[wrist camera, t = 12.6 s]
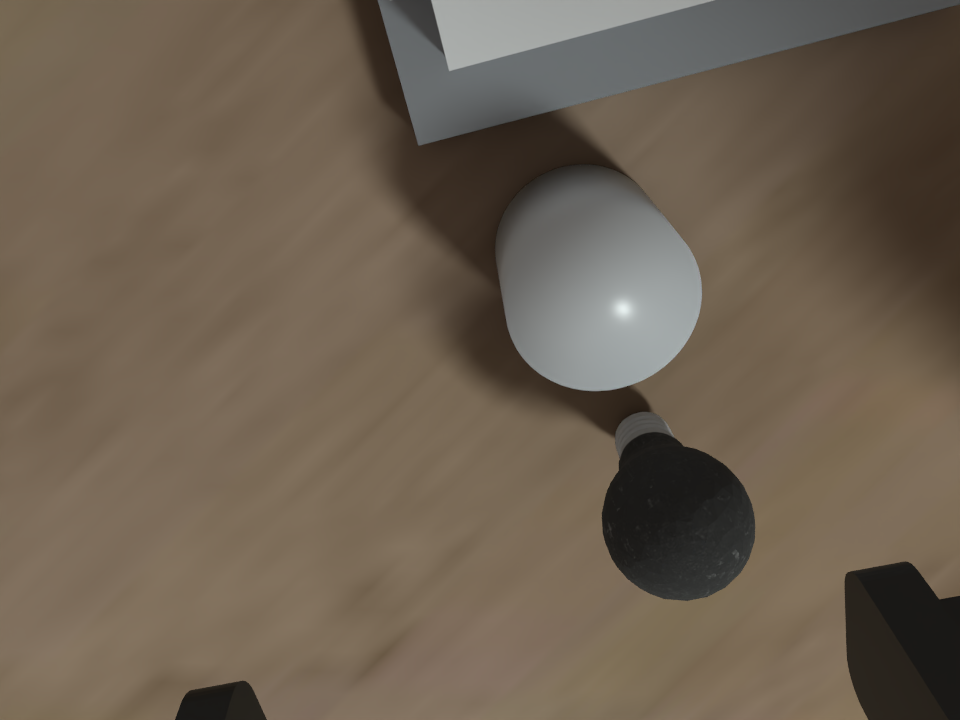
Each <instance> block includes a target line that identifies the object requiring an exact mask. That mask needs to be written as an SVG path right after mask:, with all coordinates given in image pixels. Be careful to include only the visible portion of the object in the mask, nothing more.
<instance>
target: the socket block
mask: <svg viewBox="0 0 960 720" xmlns="http://www.w3.org/2000/svg"><path fill="white" fill-rule="evenodd" d="M378 3H379V7H380V10H381V14H382V17H383V21H384V25H385V28H386V32H387V35H388V39H389V42H390V46H391V50H392V53H393V57H394V60H395V64H396V67H397V71H398V75H399V78H400V82H401V85H402V89H403V92H404V96H405V100H406V103H407V107H408V110H409V114H410V117H411V121H412V125H413V128H414V132H415V135H416V139H417V143H418V146H419V145H423V144H427V143H431V142H435V141H438V140H442V139H446V138H450V137H454V136H458V135H461V134H465V133H469V132H473V131H477V130H481V129H484V128H488V127H492V126H496V125H500V124H504V123H507V122H511V121H515V120H519V119H523V118H527V117H530V116H534V115H538V114H542V113H546V112H550V111H553V110H557V109H561V108H565V107H569V106H573V105H576V104H580V103H584V102H588V101H592V100H596V99H599V98H603V97H607V96H611V95H615V94H618V93H622V92H626V91H630V90H634V89H638V88H641V87H645V86H649V85H653V84H657V83H661V82H664V81H668V80H672V79H676V78H680V77H684V76H687V75H691V74H695V73H699V72H703V71H707V70H710V69H714V68H718V67H722V66H726V65H730V64H733V63H737V62H741V61H745V60H749V59H753V58H756V57H760V56H764V55H768V54H772V53H776V52H779V51H783V50H787V49H791V48H795V47H799V46H802V45H806V44H810V43H814V42H818V41H821V40H825V39H829V38H833V37H837V36H841V35H844V34H848V33H852V32H856V31H860V30H864V29H867V28H871V27H875V26H879V25H883V24H887V23H890V22H894V21H898V20H902V19H906V18H910V17H913V16H917V15H921V14H925V13H929V12H933V11H936V10H940V9H944V8H948V7H952V6H956V5H959V4H960V0H378Z"/></svg>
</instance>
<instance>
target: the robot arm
mask: <svg viewBox="0 0 960 720" xmlns="http://www.w3.org/2000/svg"><path fill="white" fill-rule="evenodd" d="M845 613H846V645H847V661H848V667H849V672H850V676H851V680H852V683H853V686H854V689H855V692H856V695H857V697H858V700H859V702H860V704H861V706H862V708H863V710H864V712H865V714H866V716H867V718H868V720H960V596H956V597H951V598H945V599H938V597H937V596H936V595H935V593H934V592H933V591H932V589H931V588H930V586H929V585H928V584H927V582H926V581H925V580H924V578H923V577H922V576H921V574H920V573H919V572H918V570H917V569H916V568H915V567H914V566H913V565H912V564H911V563H909V562H900V563H895V564H889V565H884V566H878V567H873V568H867V569H862V570H856V571H851V572H848V573H847V574H846V576H845ZM175 720H267V719H266V717H265V715H264V713H263V710H262V708H261V706H260V704H259V702H258V700H257V697H256V695H255V693H254V691H253V689H252V687H251V686H250V685H249V683H247V682H246V681H239V682H234V683H228V684H223V685H217V686H212V687H206V688H201V689H195V690H191V691H189V692H188V693H187V694H186V695H185V696H184V698H183V700H182V702H181V705H180V708H179V710H178V713H177V716H176V719H175Z"/></svg>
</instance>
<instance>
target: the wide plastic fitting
mask: <svg viewBox="0 0 960 720" xmlns="http://www.w3.org/2000/svg"><path fill="white" fill-rule="evenodd" d="M495 259H496V264H497V270H498V276H499V282H500V287H501V293H502V299H503V305H504V310H505V316H506V322H507V327H508V330H509V333H510V336H511V339H512V341H513V343H514V345H515V347H516V349H517V350H518V352H519V353H520V355H521V356H522V358H523V359H524V360H525V361H526V362H527V363H528V364H529V365H530V366H531V367H532V368H533V369H534V370H536V371H537V372H538V373H539V374H541V375H542V376H544V377H546V378H547V379H549V380H551V381H553V382H555V383H557V384H560V385H562V386H566V387H569V388H573V389H578V390H585V391H605V390H613V389H618V388H623V387H626V386H629V385H632V384H635V383H637V382H640V381H642V380H644V379H646V378H648V377H649V376H651V375H653V374H655V373H656V372H658V371H659V370H660V369H662V368H663V367H664V366H666V365H667V364H668V363H669V362H670V361H671V360H672V359H673V358H674V357H675V356H676V355H677V354H678V353H679V351H680V350H681V349H682V348H683V346H684V345H685V343H686V342H687V340H688V339H689V337H690V335H691V333H692V331H693V329H694V327H695V325H696V322H697V319H698V316H699V312H700V307H701V299H702V285H701V277H700V273H699V268H698V266H697V263H696V260H695V258H694V256H693V254H692V252H691V251H690V249H689V247H688V246H687V244H686V243H685V242H684V240H683V239H682V238H681V237H680V235H679V234H678V233H677V232H676V230H675V229H674V228H673V227H672V225H671V224H670V223H669V222H668V220H667V219H666V218H665V217H664V215H663V214H662V213H661V212H660V210H659V209H658V208H657V207H656V205H655V204H654V203H653V202H652V200H651V199H650V198H649V197H648V195H647V194H646V193H645V192H644V190H643V189H642V188H641V187H640V186H639V185H638V184H636V183H635V182H634V181H633V180H631V179H630V178H629V177H627V176H625V175H624V174H622V173H620V172H618V171H615V170H613V169H610V168H607V167H603V166H598V165H589V164H579V165H569V166H564V167H560V168H557V169H554V170H551V171H549V172H547V173H544V174H542V175H540V176H539V177H537V178H536V179H534V180H532V181H531V182H530V183H528V184H527V185H526V186H525V187H524V188H522V189H521V190H520V191H519V192H518V194H517V195H516V196H515V197H514V198H513V199H512V201H511V202H510V204H509V205H508V206H507V208H506V210H505V212H504V214H503V216H502V218H501V221H500V223H499V226H498V230H497V234H496V241H495Z"/></svg>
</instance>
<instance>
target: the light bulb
mask: <svg viewBox="0 0 960 720" xmlns="http://www.w3.org/2000/svg"><path fill="white" fill-rule="evenodd" d="M615 444H616V449H617V451H618V455H619V458H620V460H619V471H618V473H617V474H616V475H615V477H614V479H613V480H612V482H611V483H610V486H609V488H608V490H607V493H606V497H605V501H604V506H603V511H602V526H603V535H604V539H605V543H606V545H607V548H608V550H609V553H610V555H611V558H612V560H613V561H614V563H615V564H616V566H617V567H618V568H619V570H620V571H621V572H622V573H623V574H624V575H625V576H626V578H627V579H628V580H630V581H631V582H632V583H634V584H635V585H636V586H638V587H639V588H640V589H642V590H644V591H646V592H648V593H650V594H652V595H655V596H657V597H660V598H663V599H672V600H685V601H688V600H693V599H699V598H704V597H708V596H710V595H712V594H714V593H715V592H717V591H719V590H721V589H723V588H725V587H726V586H727V585H728V584H729V583H730V582H731V581H732V580H733V579H734V578H736V577H737V576H738V575H739V574H740V573H741V571H742V569H743V568H744V566H745V565H746V563H747V561H748V559H749V557H750V553H751V550H752V547H753V544H754V539H755V519H754V512H753V508H752V504H751V501H750V499H749V497H748V495H747V493H746V491H745V488H744V486H743V485H742V484H741V482H740V481H739V479H738V478H737V477H736V476H735V475H734V474H733V473H732V472H731V471H730V470H729V469H728V468H727V467H726V466H725V465H724V464H723V463H721V462H720V461H718V460H716V459H715V458H713V457H712V456H710V455H708V454H707V453H705V452H702V451H699V450H697V449H694V448H689V447H684V446H683V445H682V444H681V443H680V442H679V441H678V440H677V439H675V438H674V436H673V434H672V432H671V430H670V428H669V427H668V425H667V423H666V422H665V421H664V420H663V419H662V418H661V417H660V416H658V415H656V414H654V413H650V412H639V413H635V414H632V415H630V416H629V417H627V418H625V419H624V420H623V421H622V422H621V423H620V425H619V426H618V428H617V430H616V434H615Z"/></svg>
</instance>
